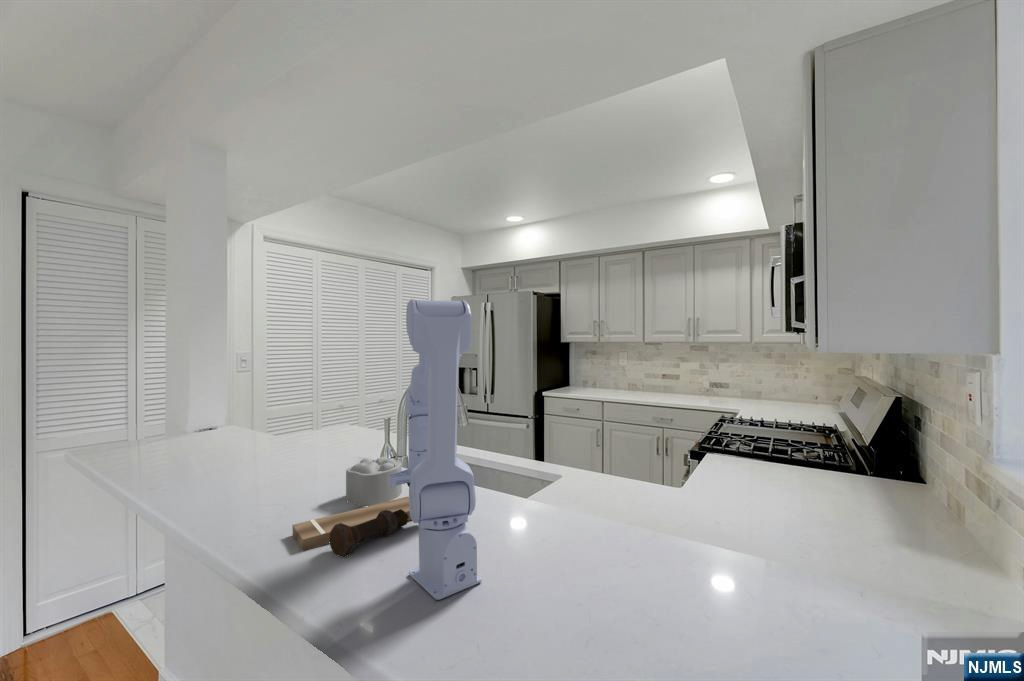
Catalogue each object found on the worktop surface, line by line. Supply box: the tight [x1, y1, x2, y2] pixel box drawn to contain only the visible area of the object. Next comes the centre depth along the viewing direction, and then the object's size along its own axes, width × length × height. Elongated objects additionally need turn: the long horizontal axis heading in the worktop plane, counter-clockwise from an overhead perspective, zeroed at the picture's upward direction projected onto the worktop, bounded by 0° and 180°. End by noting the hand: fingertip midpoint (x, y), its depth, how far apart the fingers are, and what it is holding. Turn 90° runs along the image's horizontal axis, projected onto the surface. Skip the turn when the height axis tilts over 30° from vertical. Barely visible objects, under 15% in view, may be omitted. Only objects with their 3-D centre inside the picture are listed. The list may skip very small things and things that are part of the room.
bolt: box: [329, 509, 409, 558], centre depth 83 cm, size 6×5×15 cm
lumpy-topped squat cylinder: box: [345, 456, 403, 507], centre depth 106 cm, size 10×13×9 cm
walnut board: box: [291, 496, 412, 552], centre depth 89 cm, size 8×24×2 cm, turn 129°
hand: (423, 514), depth 89 cm, fingers closed
